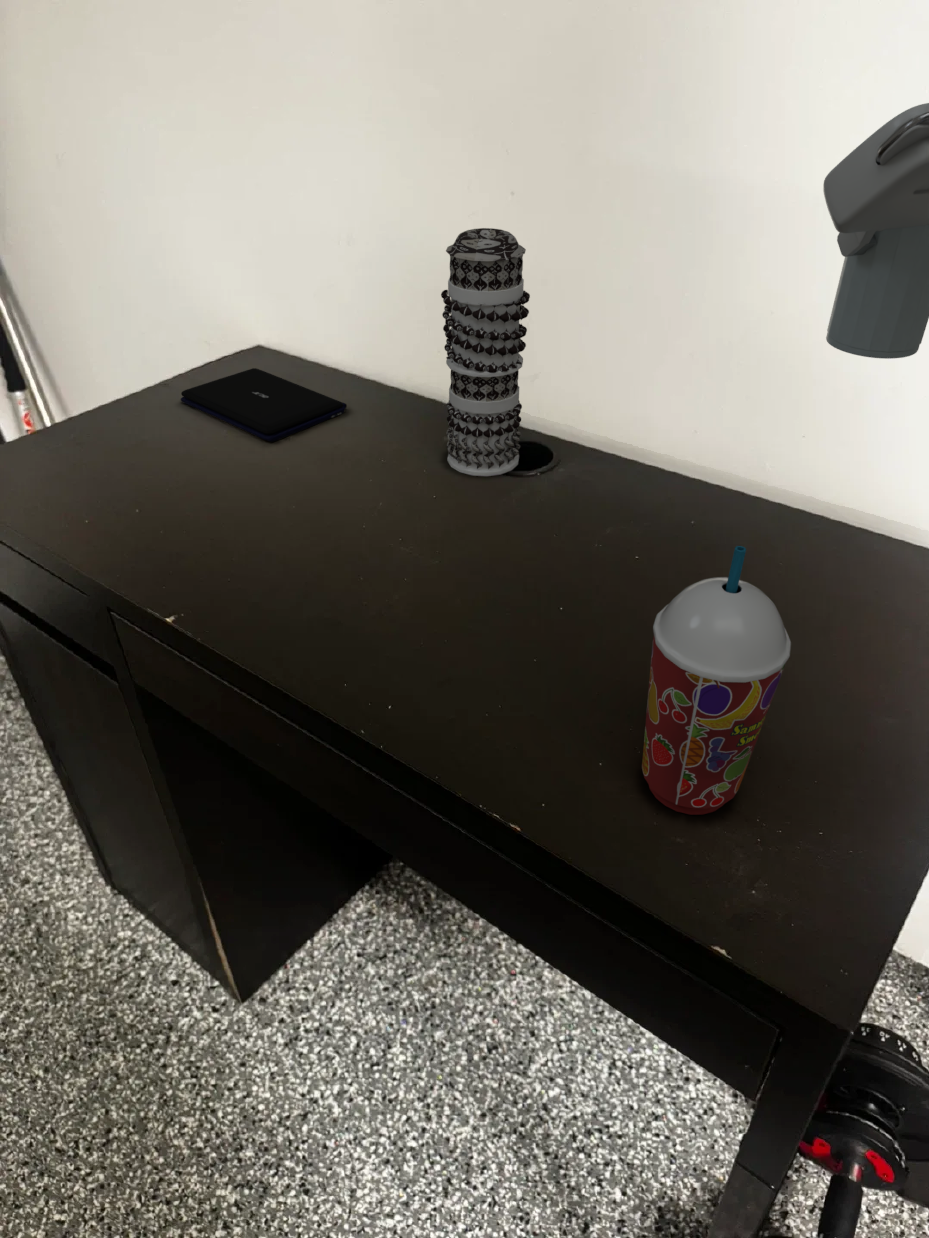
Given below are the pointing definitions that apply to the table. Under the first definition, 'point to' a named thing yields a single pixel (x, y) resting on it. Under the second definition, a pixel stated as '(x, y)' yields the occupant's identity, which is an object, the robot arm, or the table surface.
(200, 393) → the laptop
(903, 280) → the small bottle
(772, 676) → the smoothie
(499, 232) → the decorative candle
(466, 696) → the table surface
